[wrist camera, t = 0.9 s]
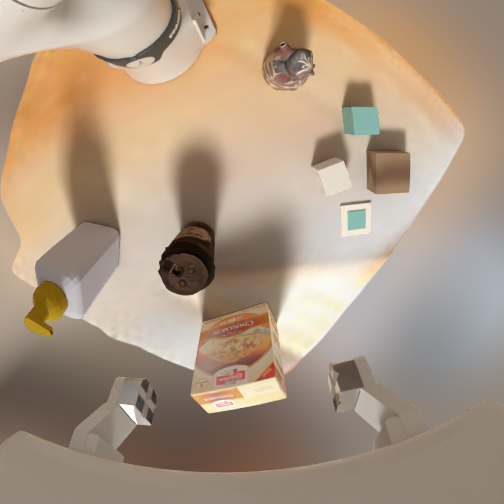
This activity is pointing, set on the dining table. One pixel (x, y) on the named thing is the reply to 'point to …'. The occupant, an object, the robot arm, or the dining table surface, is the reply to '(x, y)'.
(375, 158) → the walnut base
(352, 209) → the tile
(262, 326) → the coffeecake box
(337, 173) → the cream cube
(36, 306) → the soap bottle
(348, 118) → the teal cube
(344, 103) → the dining table surface
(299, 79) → the figurine
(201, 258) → the coffee cup
